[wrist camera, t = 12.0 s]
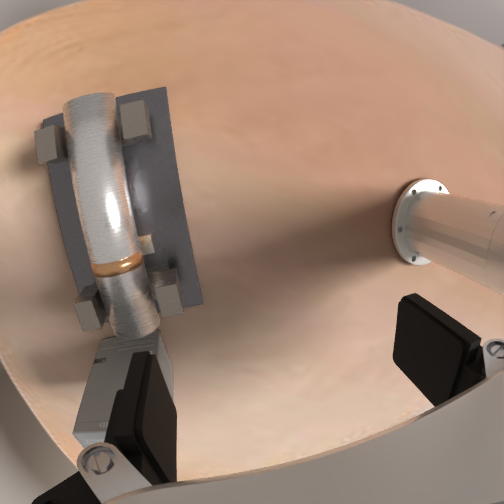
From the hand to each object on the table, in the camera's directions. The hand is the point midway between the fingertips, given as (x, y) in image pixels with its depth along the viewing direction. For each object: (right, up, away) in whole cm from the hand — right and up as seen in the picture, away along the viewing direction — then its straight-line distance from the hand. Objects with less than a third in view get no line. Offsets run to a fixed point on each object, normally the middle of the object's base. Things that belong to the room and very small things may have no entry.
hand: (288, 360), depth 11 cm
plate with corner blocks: (-15, +8, +20) cm, 27 cm away
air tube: (-14, +7, +15) cm, 22 cm away
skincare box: (-16, -9, +25) cm, 31 cm away
